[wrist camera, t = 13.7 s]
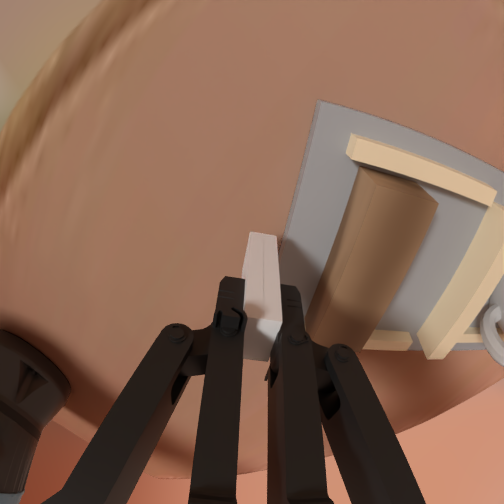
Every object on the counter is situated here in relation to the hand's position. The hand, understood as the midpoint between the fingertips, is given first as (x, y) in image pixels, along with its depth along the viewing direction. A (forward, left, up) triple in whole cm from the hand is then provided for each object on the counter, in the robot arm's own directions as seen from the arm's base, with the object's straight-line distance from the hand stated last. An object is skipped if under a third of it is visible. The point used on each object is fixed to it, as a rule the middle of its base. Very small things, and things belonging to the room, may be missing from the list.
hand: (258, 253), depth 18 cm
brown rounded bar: (+7, 0, -1) cm, 7 cm away
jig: (+17, 0, -3) cm, 17 cm away
